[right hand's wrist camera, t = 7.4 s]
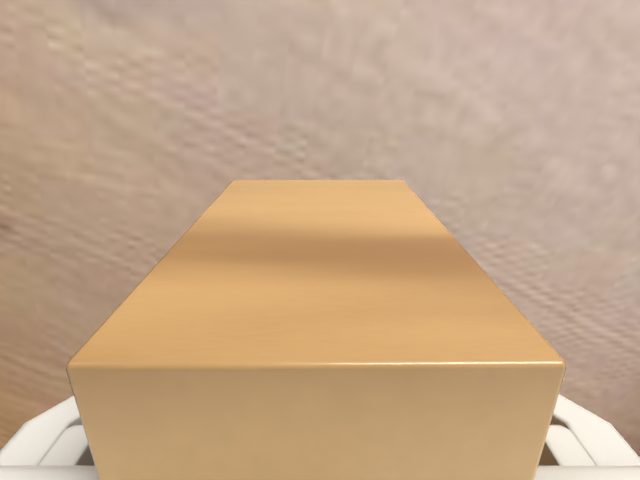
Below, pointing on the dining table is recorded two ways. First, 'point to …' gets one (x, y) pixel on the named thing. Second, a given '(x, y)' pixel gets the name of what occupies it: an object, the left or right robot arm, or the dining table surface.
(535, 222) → the dining table surface
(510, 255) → the dining table surface
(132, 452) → the bar
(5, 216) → the dining table surface
